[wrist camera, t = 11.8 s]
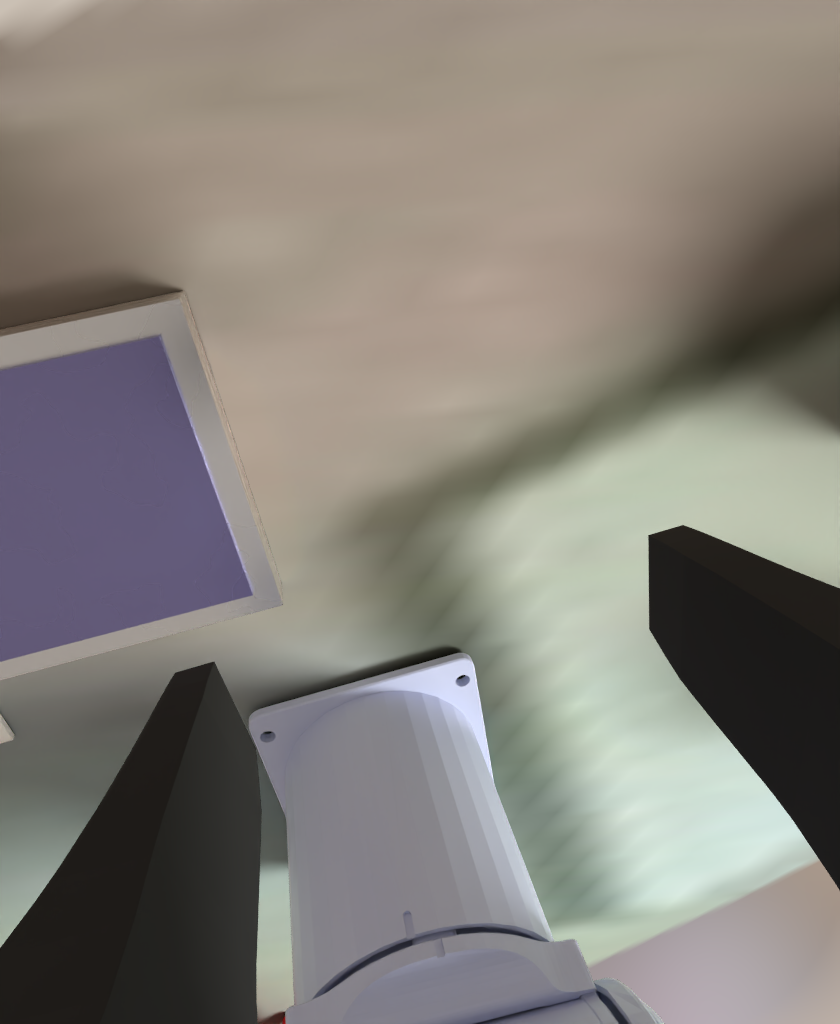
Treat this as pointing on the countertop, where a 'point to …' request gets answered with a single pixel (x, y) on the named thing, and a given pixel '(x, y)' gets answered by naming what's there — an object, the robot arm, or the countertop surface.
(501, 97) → the countertop surface
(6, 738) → the paper
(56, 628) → the ink pad
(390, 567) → the countertop surface
